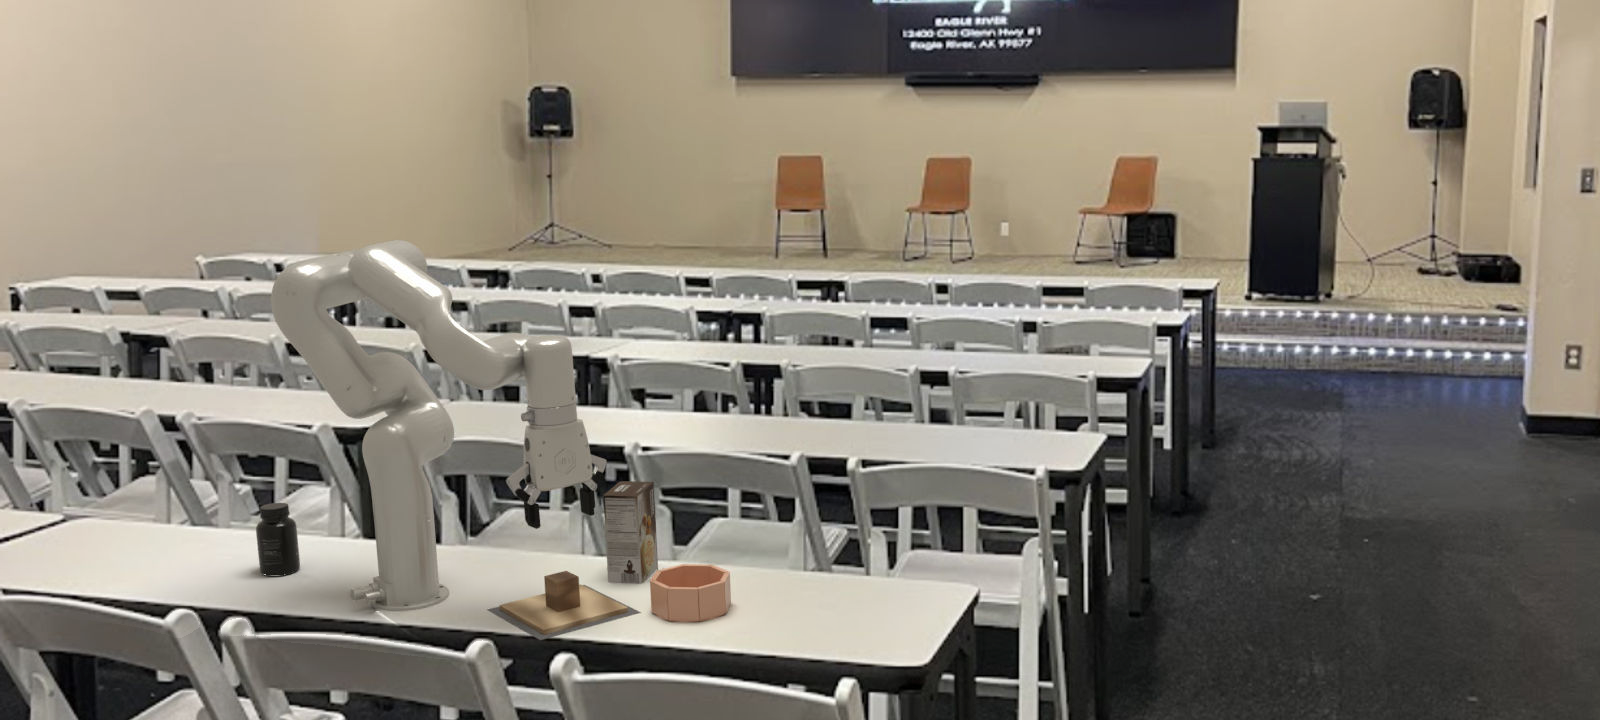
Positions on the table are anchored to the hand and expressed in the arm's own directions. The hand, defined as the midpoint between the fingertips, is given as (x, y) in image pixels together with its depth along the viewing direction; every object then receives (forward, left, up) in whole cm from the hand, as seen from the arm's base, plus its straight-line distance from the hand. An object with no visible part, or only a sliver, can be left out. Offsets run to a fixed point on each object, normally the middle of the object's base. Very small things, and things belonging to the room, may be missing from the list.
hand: (561, 520), depth 243 cm
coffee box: (+18, +8, -16) cm, 25 cm away
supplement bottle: (-27, +54, -16) cm, 63 cm away
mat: (0, 0, -16) cm, 16 cm away
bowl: (+16, -13, -16) cm, 26 cm away
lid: (0, 0, -15) cm, 15 cm away
